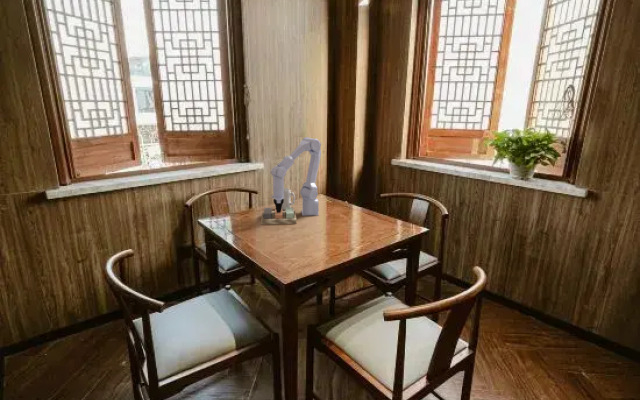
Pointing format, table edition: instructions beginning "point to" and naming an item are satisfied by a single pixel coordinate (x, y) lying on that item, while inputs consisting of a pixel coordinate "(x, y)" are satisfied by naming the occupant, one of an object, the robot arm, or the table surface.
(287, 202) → the mug
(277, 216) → the key terracotta
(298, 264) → the table surface
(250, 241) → the table surface
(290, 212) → the key celadon
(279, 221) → the board
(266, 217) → the key charcoal
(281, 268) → the table surface
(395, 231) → the table surface
